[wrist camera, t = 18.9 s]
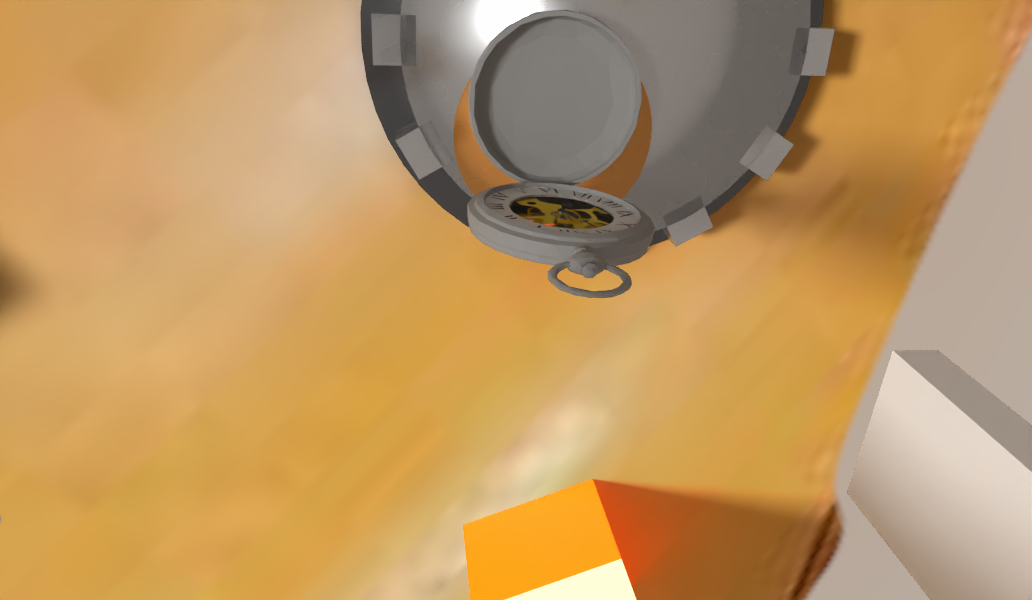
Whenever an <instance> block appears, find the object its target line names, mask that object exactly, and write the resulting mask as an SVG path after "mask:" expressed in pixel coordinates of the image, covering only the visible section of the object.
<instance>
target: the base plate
mask: <svg viewBox="0 0 1032 600" xmlns="http://www.w3.org/2000/svg"><path fill="white" fill-rule="evenodd" d="M401 4H402V0H362V5H361V41H362V53H363V59H364V65H365V72H366V78H367V82H368V86H369V89H370V93H371V96H372V99H373V103H374V106H375V110H376V112H377V115H378V117H379V119H380V121H381V124H382V126H383V128H384V131H385V133H386V135H387V138H388V140H389V141H390V143H391V145H392V146H393V148H394V150H395V151H396V153H397V155H398V156H399V158H400V160H401V161H402V163H403V165H404V166H405V167H406V168H407V170H408V171H409V172H410V174H411V175H412V176H413V177H414V179H415V180H416V181H417V182H418V184H419V185H420V186H421V187H422V188H423V189H424V190H425V191H426V192H427V193H428V194H429V195H430V196H431V197H432V198H433V199H434V200H435V201H436V202H437V203H438V204H439V205H440V206H441V207H442V208H443V209H445V210H446V211H447V212H449V213H450V214H451V215H453V216H454V217H455V218H457V219H458V220H459V221H461V222H462V223H463V224H465V225H467V226H468V227H469V222H468V218H467V204H468V202H469V201H470V200H471V199H472V198H471V197H470V196H469V195H468V194H467V193H466V192H464V191H463V190H462V189H461V188H460V187H459V186H458V185H457V184H456V182H455V181H454V180H453V179H452V178H451V177H450V176H449V175H448V173H447V172H446V171H445V170H444V169H443V167H441V168H439V169H437V170H436V171H434V172H432V173H430V174H428V175H427V176H425V177H423V178H421V179H418V177H417V175H416V174H415V172H414V170H413V169H412V167H411V165H410V164H409V162H408V161H407V159H406V157H405V156H404V154H403V152H402V151H401V149H400V147H399V146H398V144H397V142H396V141H395V137H396V131H397V130H399V129H401V128H402V127H404V126H406V125H408V124H409V123H411V122H413V121H415V120H416V119H415V116H414V113H413V110H412V107H411V105H410V102H409V99H408V95H407V90H406V86H405V81H404V76H403V72H402V66H389V65H373V51H372V22H371V13H372V10H391V11H401ZM823 5H824V0H811V10H810V25H819V26H822V16H823ZM810 77H811V76H808V75H801V76H800V79H799V82H798V85H797V87H796V90H795V93H794V95H793V98H792V101H791V103H790V106H789V108H788V110H787V112H786V113H785V115H784V117H783V119H782V121H781V123H780V125H779V127H778V129H777V131H776V133H778V134H779V135H781V136H782V137H783V136H784V134H785V133H786V131H787V129H788V128H789V126H790V124H791V123H792V121H793V119H794V116H795V114H796V112H797V110H798V108H799V105H800V103H801V101H802V99H803V97H804V94H805V92H806V89H807V86H808V83H809V80H810ZM755 174H756V173H754V172H753V171H751V170H750V169H748V170H747V171H746V172H745V173H744V174H743V175H742V176H741V177H740V178H739V179H738V180H737V181H736V182H735V183H734V184H733V185H732V186H731V187H730V188H729V189H728V190H726V191H725V192H724V193H722V194H721V195H720V196H719V197H717V198H716V199H715V200H713V201H712V202H711V203H710V204H708V205H707V206H705V209H706V211H707V213H708V216H709V215H711V214H712V213H714V212H715V211H717V210H718V209H719V208H721V207H722V206H723V205H724V204H725V203H726V202H728V201H729V200H730V199H731V198H732V197H733V196H735V195H736V194H737V193H738V192H739V191H740V190H741V189H742V188H743V187H744V186H745V185H746V184H747V183H748V182H749V181H750V180H751V179H752V178H753V177H754V175H755ZM667 239H669V238H668V237H667V236H666V235H665V234H664V231H663V229H660V230H657V231H654V235H653V239H652V242H651V243H650V245H649V246H651V245H653V244H656V243H659V242H661V241H664V240H667Z"/></svg>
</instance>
